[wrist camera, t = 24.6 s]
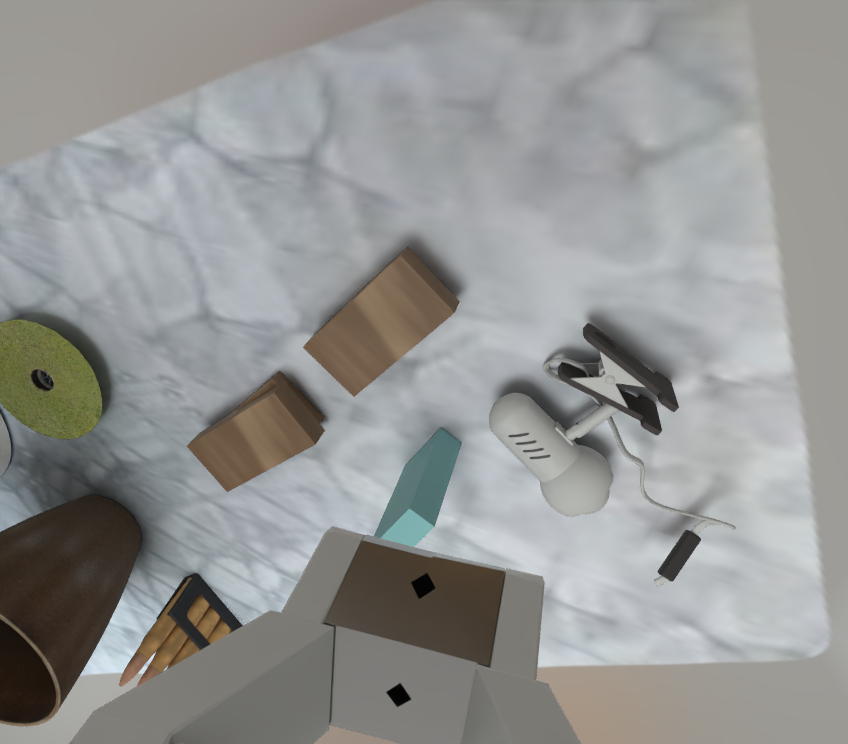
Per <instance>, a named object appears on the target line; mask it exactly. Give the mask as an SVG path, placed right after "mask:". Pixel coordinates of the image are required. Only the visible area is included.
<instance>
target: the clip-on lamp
mask: <svg viewBox="0 0 848 744" xmlns="http://www.w3.org/2000/svg"><path fill="white" fill-rule="evenodd" d="M583 336H584V338H585V339H586V340H587V341H588V342H589V343H590V344H591V345H593V346H594V347H595V348H596V349H598V350H599V351H600V355H601V360H600V361H599V363H578V362H576V361H574V360H571V359H568V358H555V359H552V360H550V361H548V362H547V363H545V364H544V366H543V369H544V371H545V373H546V374H547V375H549V376H550V377H551V378H552V379H554V380H556V381H558V382H560V383H562V384H566V385H570V386H573V387H575V388H577V389H579V390H581V391H583V392H585V393H587V394H588V395H589V396H590V397H591V398H592V399H593V400H594V401H595V402H596V403H597V405H598V406H599V408H597V409H596V410H595V411H593V412H592V413H590V414H589V415H588V416H586V417H585V418H583V419H582V420H581V421H579V422H577V423H576V424H574V425H573V426H572V427H570V428H569V429H567V430H565V429H564V428H563V427H562V426H561V425H560V424H559V423H558V422H556V423H555V422H554V421H553V420H552V419H551V418H550V417H549V416H548V415H547V414H546V413H545V412H544V411H543V410H542V409H541V408H540V407H539V406H538V405H537V404H536V403H535V402H534V401H533V400H532V399H531V398H530V397H529V396H527V395H525V394H522V393H510V394H507V395H504V396H502V397H501V398H499V399H498V400H497V401H496V402H495V403H494V405H493V407H492V408H491V411H490V415H489V424H490V428H491V431H492V432H493V433H494V434H495V435H496V436H497V437H498V439H499V440H500V441H501V442H502V443H503V444H504V445H505V446H506V447H507V448H508V449H509V450H510V451H511V452H512V453H513V454H514V455H515V456H516V457H517V458H518V459H519V460H520V461H521V462H522V463H523V464H524V465H525V466H526V467H527V468H528V469H529V470H530V471H531V473H532V474H533V475H534V476H535V477H536V478H537V479H538V480H539V481H540V486H541V491H542V494H543V496H544V498H545V500H546V501H547V502H548V504H549V505H550V506H551V507H552V508H553V509H555V510H556V511H557V512H559V513H560V514H562V515H565V516H569V517H574V516H578V515H581V514H591V513H595V512H597V511H599V510H600V509H601V508H603V506H604V505H605V504H606V502H607V500H608V498H609V488H610V486H611V483H612V480H613V473H612V471H611V468H610V465H609V464H608V462H607V460H606V459H605V458H604V457H603V456H602V455H601V454H600V453H598V452H597V451H595V450H593V449H591V448H589V447H587V446H583V445H577V444H576V443H575V442H574V439H575V438H576V437H578V438H581V437H582V436H583V435H585V434H586V433H588V432H589V431H591V430H592V429H593V428H595V427H596V426H598V425H599V424H600V423H602V422H603V421H605V420H606V419H607V420H608V422H609V424H610V426H611V428H612V431H613V433H614V436H615V438H616V440H617V443H618V445H619V448H620V449H621V451H622V453H623V454H624V455H625V457H626V458H627V459H629V460H630V461H632V462H634V463H636V464H638V465H639V466H640V467H641V477H640V487H641V492H642V494H643V496H644V498H645V499H646V500H648V501H649V502H650V503H651V504H654V505H656V506H658V507H660V508H663V509H666V510H669V511H672V512H675V513H679V514H683V515H687V516H690V517H694V518H698V519H702V520H703V521H701V522H700V523H698V524H697V525H696V526H695V527H694V528H693V529H692V531H689V530H685V532H684V533H683V534H682V536H681V537H680V539H679V540H678V542H677V543H676V545H675V546H674V548H673V549H672V551H671V552H670V554H669V555H668V557H667V558H666V560H665V561H664V562H663V564H662V565H661V567H660V568H659V570H658V573H659V574H660V575H661V577H659V578H657V579H655V580H654V582H655V584H656V585H657V587H658V586H660V585H662V584H664V583H666V582H668V581H674V579H675V578H676V576H677V575H678V573H679V572H680V570H681V569H682V567H683V566H684V564H685V563H686V561H687V560H688V558H689V557H690V555H691V554H692V553H693V551H694V550H695V548H696V547H697V545H698V544H699V542H700V541H701V538H700V537H699V536H698V534H699V533H700V532H701V530H703V529H704V528H706V527H707V526H709V525H715V524H716V525H723V526H726V527H729V528H731V529H736V527H735V526H733V525H731V524H729V523H726V522H723V521H719V520H716V519H712V518H709V517H705V516H701V515H696V514H692V513H688V512H684V511H680V510H677V509H673V508H670V507H667V506H664V505H661V504H659V503H657V502H655V501H653V500H652V499H651V498H650V497H648V496H647V494H646V492H645V490H644V475H645V469H644V464H643V462H642V460H640V459H639V458H637V457H635V456H633V455H631V454H630V453H629V452H628V451H627V450H626V448H625V446H624V444H623V442H622V440H621V437H620V435H619V432H618V430H617V427H616V425H615V423H614V421H613V419H612V417H611V416H612V415H613V414H615V413H616V412H618V411H619V410H620V411H622V412H624V413H626V414H628V415H630V416H632V417H634V418H636V419H638V420H640V422H641V426H642V427H643V428H644V429H646V430H648V431H649V432H651V433H653V434H655V435H659V434H660V432H661V431H662V428H661V424H660V420H659V415H658V411H657V407H656V404H655V403H654V402H653V401H651V400H649V399H648V398H646V397H644V396H642V395H640V396H639V397H638V398H637V397H635V396H633V395H631V394H629V393H628V392H626V391H625V390H624V388H623V386H622V384H626V385H633V386H640V387H646V388H647V389H649V390H650V391H651V392H653V393H654V394H655V395H656V396H657V397H658V400H659V402H660V403H661V404H662V405H664V406H665V407H667V408H668V409H669V410H671V411H673V412H675V411H676V410H677V409H678V408H679V406H678V403H677V400H676V396H675V393H674V390H673V387H672V383H671V382H670V381H669V380H668V379H667V378H666V377H664V376H663V375H661V374H660V373H658V372H656V373H653V372H652V371H651V370H650V369H648V368H647V367H646V366H644V365H643V364H642V363H641V362H639V361H638V360H637V359H636V358H634V357H633V356H632V355H630V354H629V353H628V352H627V351H625V350H624V349H623V348H622V347H620V346H619V345H618V344H617V343H615V342H614V341H613V340H611V339H610V338H609V337H608V336H606V335H605V334H604V333H603V332H601V331H600V330H599V329H598V328H596V327H595V326H593V325H592V324H589V323H587V324H586V326H585V327H584V328H583ZM553 362H561V364H560V365H559V367H558V375H556V374H555V373H553V372H552V371H551V369H550V368H549V364H550V363H553ZM601 401H602V402H604V404H603V403H602V402H601Z"/></svg>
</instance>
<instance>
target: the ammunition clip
mask: <svg viewBox="0 0 848 744" xmlns="http://www.w3.org/2000/svg"><path fill="white" fill-rule="evenodd" d="M240 627H242V624H241V623H240V622H239V621H238V620H237V619H236V617H235V616H234V615H233V614H232V613H231V612H230V610H229V609H228V608H227V607H226V606H225V605H224V603H223V602H222V601H221V600H220V599H219V598H218V596H217V595H216V594H215V593H214V592H213V591H212V589H211V588H210V587H209V586H208V585H207V584H206V582H205V581H204V580H203V579H202V578H201V577H200V575H199V574H193V575H191V576H188V577H186V578H184V579H183V581H182V582H181V583H180V585H179V586H178V588H177V589H176V591H175V592H174V594H173V595H172V597H171V598H170V600H169V601H168V602H167V604H166V605H165V607H164V608H163V610H162V611H161V613H160V614H159V616H158V617H157V621H156V622H155V624H154V625H153V626H152V628H151V629H150V631H149V632H148V633H147V635H146V636H145V637H144V639H143V641H142V643H141V645H140V647H139V648H138V650H137V651H136V653H135V655H134V656H133V657H132V659H131V660H130V662H129V663H128V665H127V667H126V668H125V670H124V672H123V675H122V677H121V680H120V683H119V685H120V686H123V685H125V684H126V683H128V682H129V681H130V680H131V679H132V678H133V677H134V676H135V675H136V674H137V673H138V672H139V671H140V670H141V668H142V667H143V666H144V664H145V663H146V662H147V661H148V660H149V658H150V657H151V656H152V655H153V654H154V653H155V652H156V651H157V652H156V654H155V656H154V658H153V660H152V662H151V663H150V665H149V666H148V668H147V670H146V671H145V673H144V674H143V676H142V677H141V679H140V681H139V683H138V685H137V686H139V685H140V684H142V683H144V682H146V681H147V680H149V679H151V678H153V677H154V676H156V675H158V674H160V673H161V672H163V670H164V669H165V668H166V667H167V666H168V665H169V666H168V668H170V667H172V666H174V665H175V664H177V663H179V662H181V661H182V660H184V659H186V658H188V657H189V656H191V655H193V654H195V653H197V652H198V651H200V650H202V649H204V648H205V647H207V646H209V645H211V644H212V643H214V642H216V641H218V640H219V639H221V638H223V637H225V636H226V635H228V634H230V633H232V632H233V631H235V630H237V629H239V628H240ZM168 668H167V669H168Z"/></svg>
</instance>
